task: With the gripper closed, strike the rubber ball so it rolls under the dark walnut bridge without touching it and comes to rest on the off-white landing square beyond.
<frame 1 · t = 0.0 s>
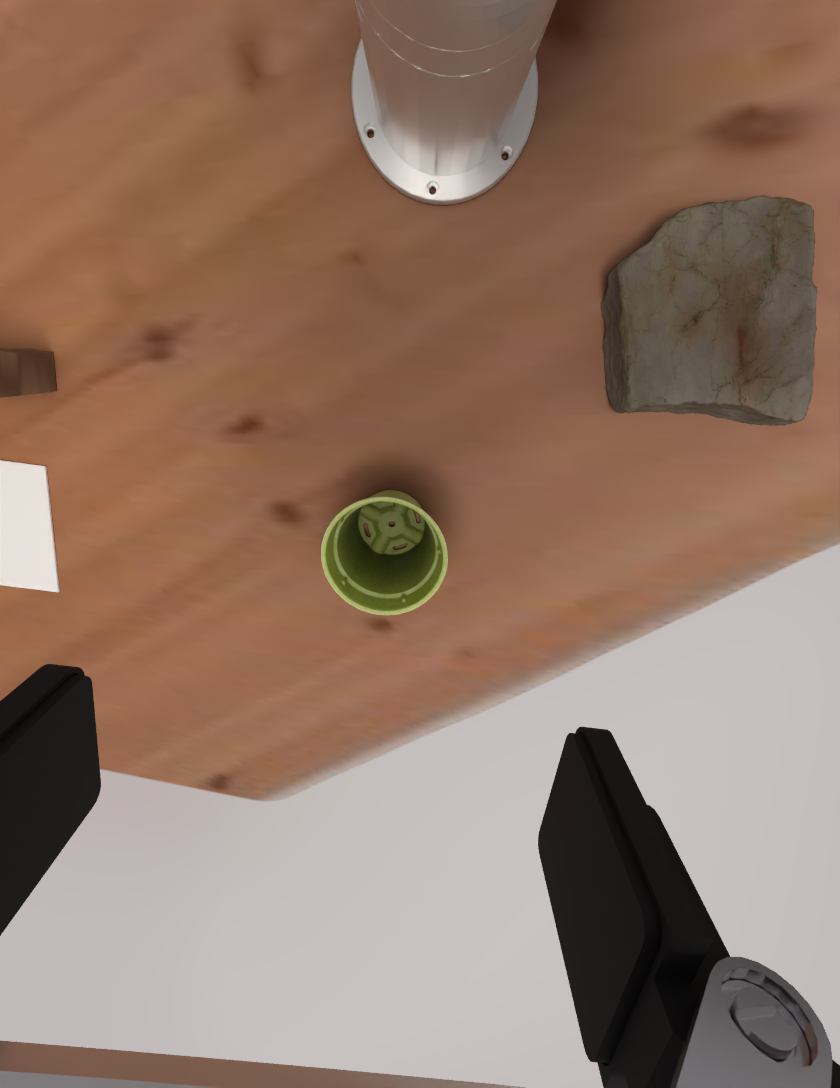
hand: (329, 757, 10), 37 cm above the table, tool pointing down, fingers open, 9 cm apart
plant pot: (391, 522, 48), on the table
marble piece: (692, 332, 42), on the table
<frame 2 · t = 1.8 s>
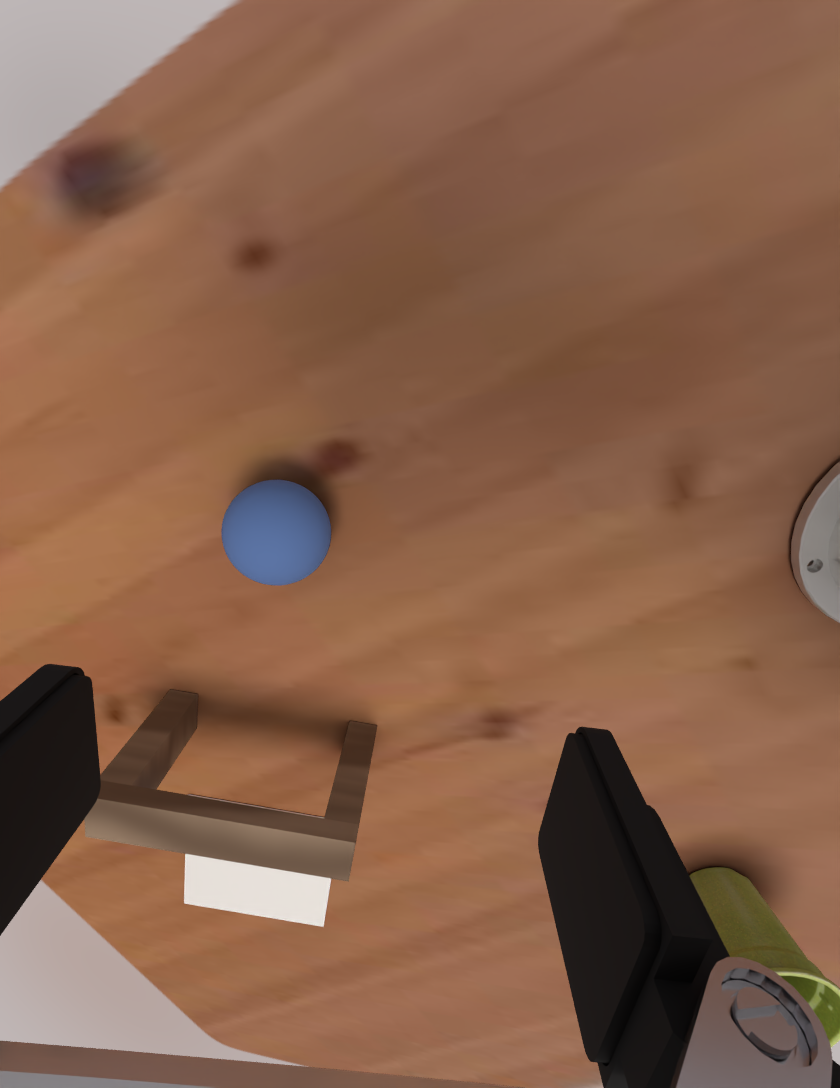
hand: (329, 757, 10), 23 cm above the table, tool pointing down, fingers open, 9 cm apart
ball: (277, 532, 30), on the table
bridge: (272, 724, 39), on the table
plant pot: (709, 890, 42), on the table
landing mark: (259, 862, 43), on the table
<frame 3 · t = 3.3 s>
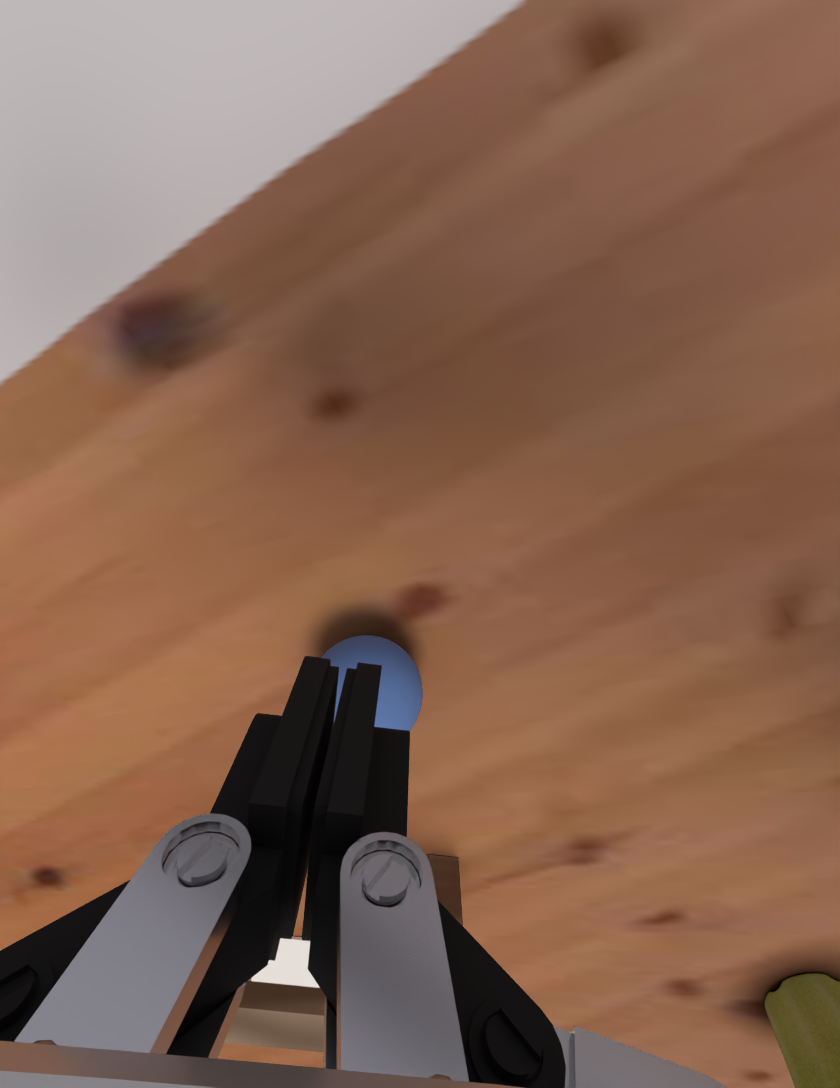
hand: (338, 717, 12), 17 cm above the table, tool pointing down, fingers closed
ball: (365, 692, 28), on the table
bridge: (346, 861, 36), on the table
plant pot: (800, 993, 41), on the table
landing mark: (329, 993, 41), on the table
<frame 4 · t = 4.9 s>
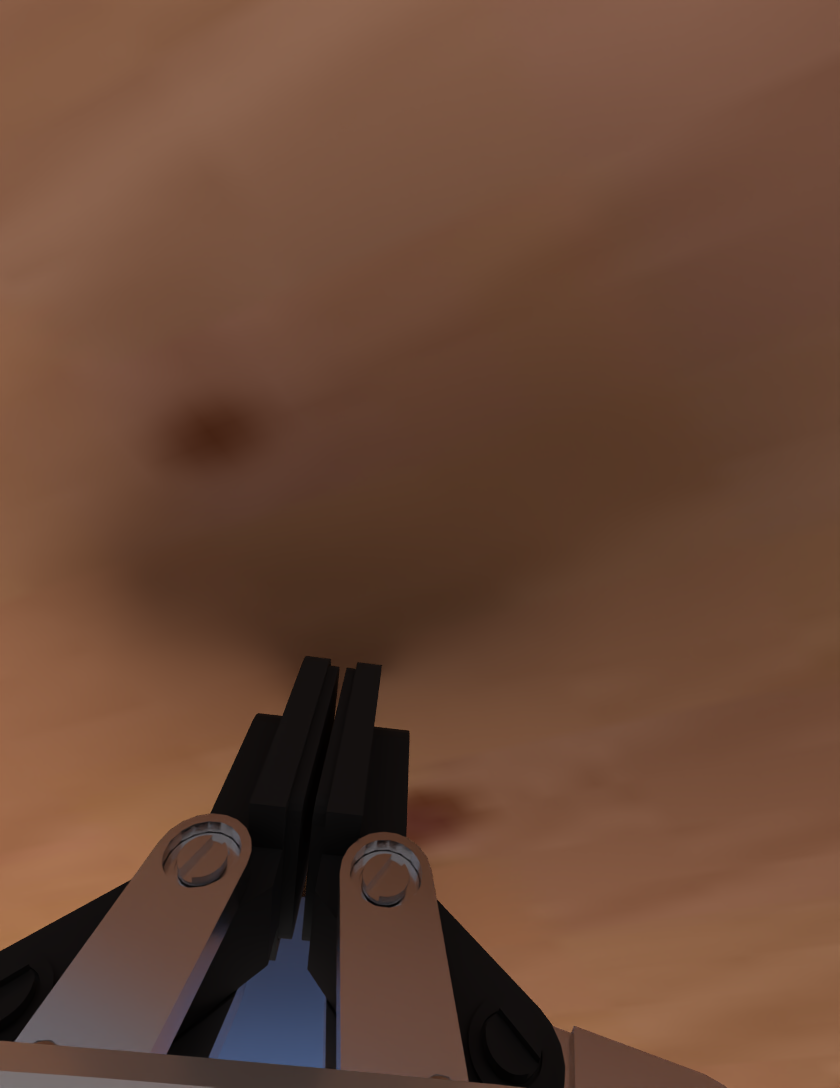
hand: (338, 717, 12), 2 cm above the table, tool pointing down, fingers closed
ball: (305, 1040, 13), on the table
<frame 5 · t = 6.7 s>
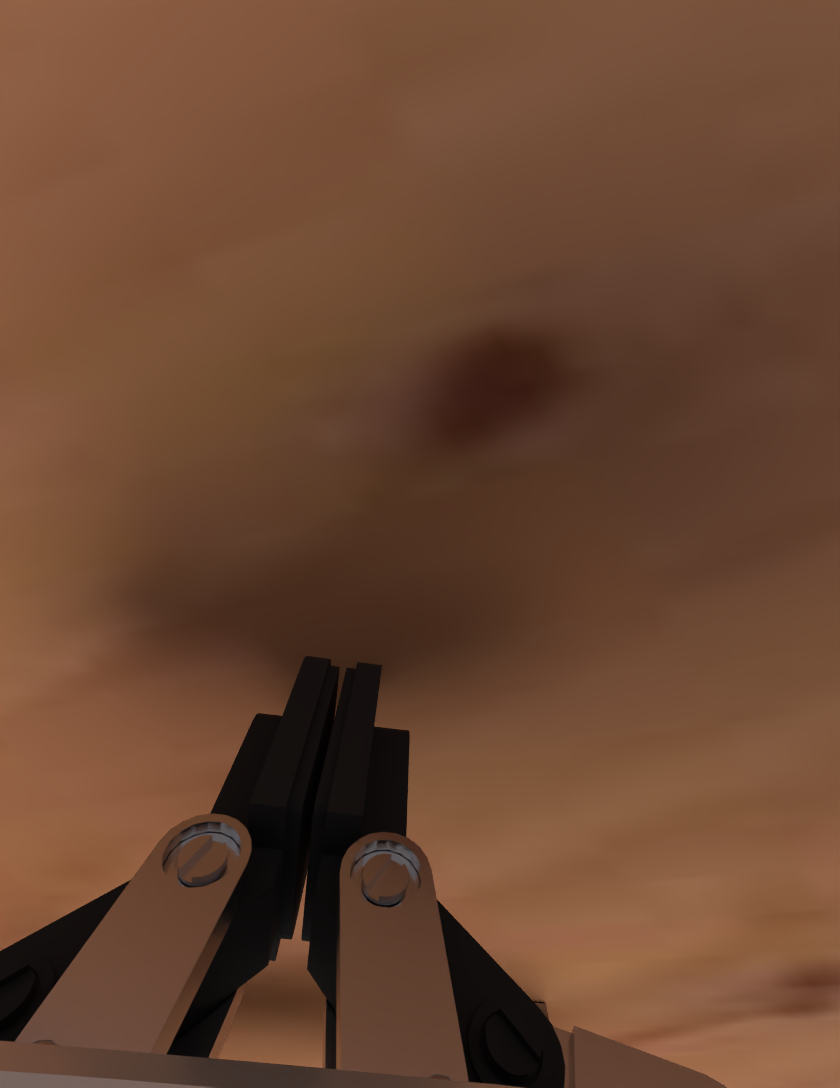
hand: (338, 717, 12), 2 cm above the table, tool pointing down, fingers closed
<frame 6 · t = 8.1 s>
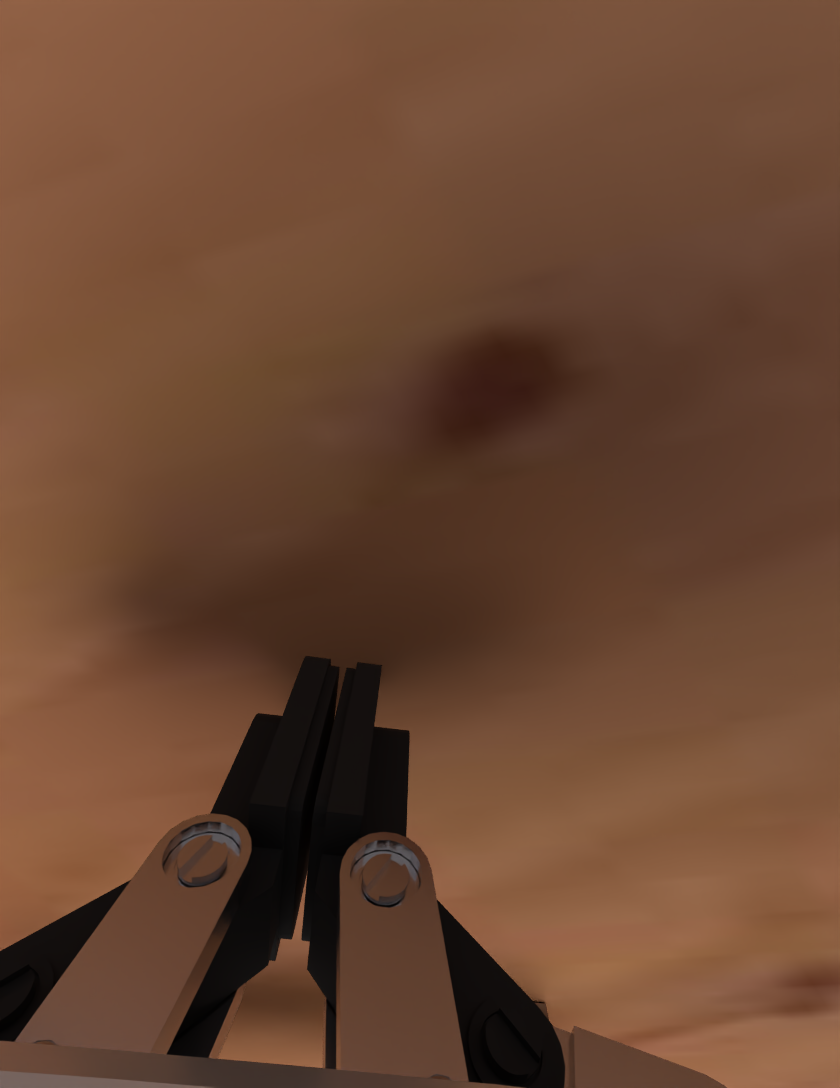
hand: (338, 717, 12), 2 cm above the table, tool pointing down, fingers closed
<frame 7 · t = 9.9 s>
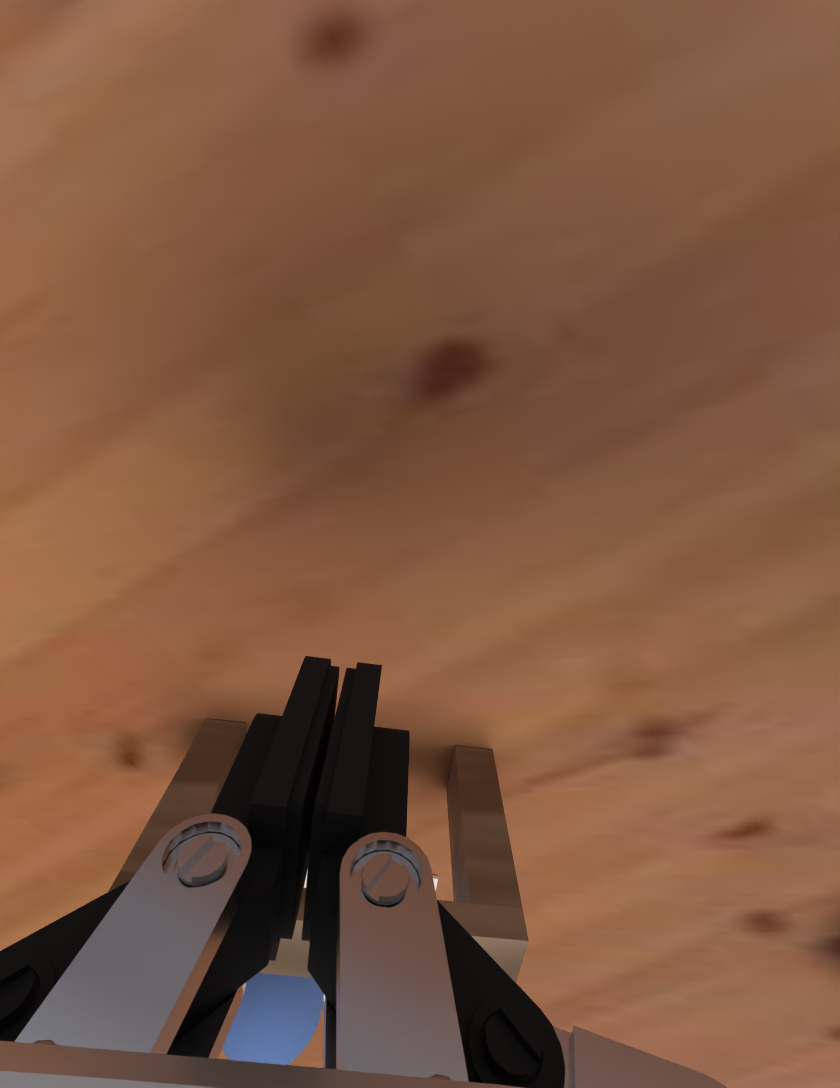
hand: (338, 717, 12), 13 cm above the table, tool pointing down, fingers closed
ball: (270, 1000, 31), on the table
bridge: (349, 757, 28), on the table
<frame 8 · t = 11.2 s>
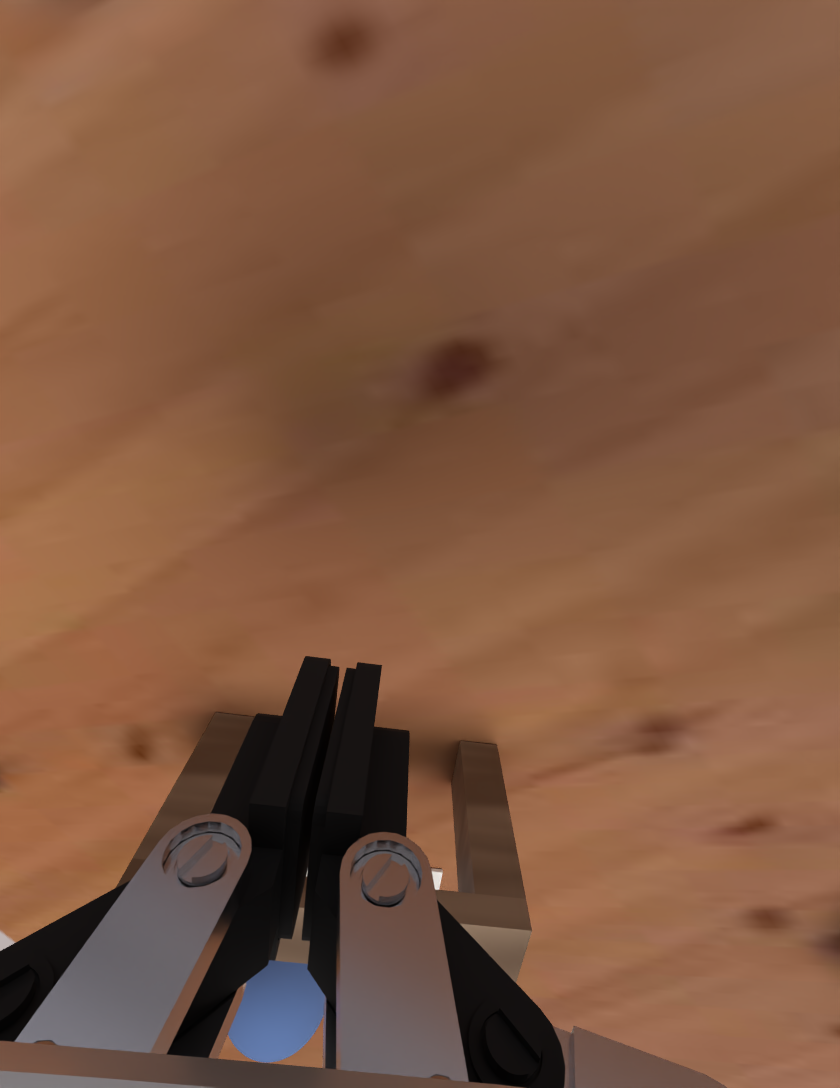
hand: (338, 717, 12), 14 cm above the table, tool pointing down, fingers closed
ball: (277, 990, 31), on the table
bridge: (355, 751, 29), on the table
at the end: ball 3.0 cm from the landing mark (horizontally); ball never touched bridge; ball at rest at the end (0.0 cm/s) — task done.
